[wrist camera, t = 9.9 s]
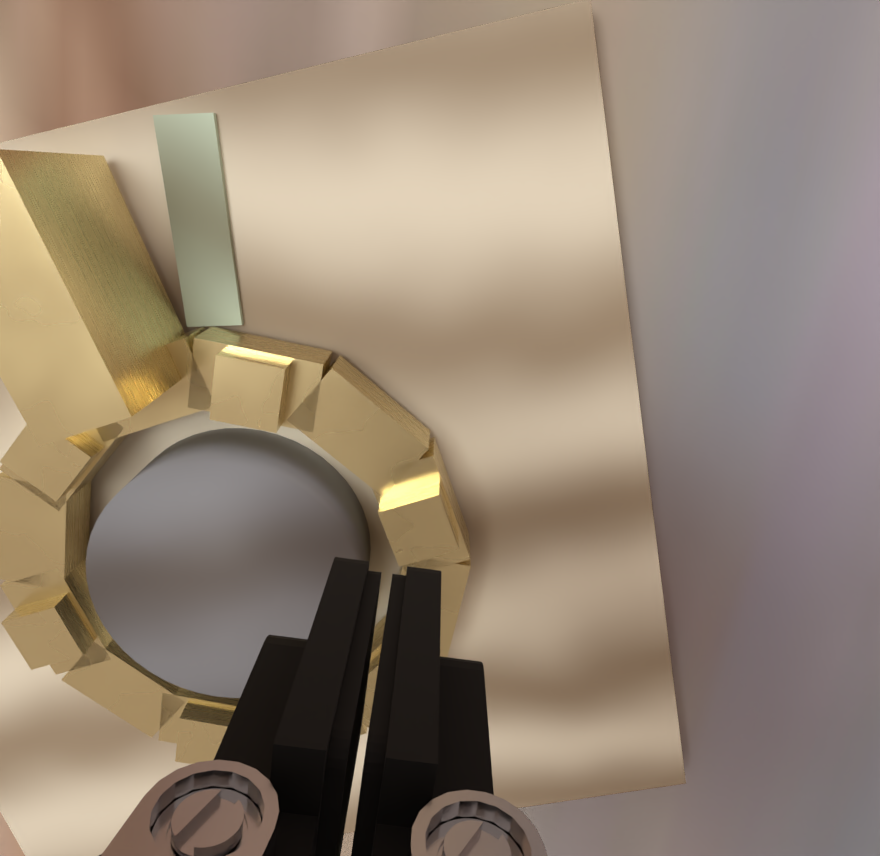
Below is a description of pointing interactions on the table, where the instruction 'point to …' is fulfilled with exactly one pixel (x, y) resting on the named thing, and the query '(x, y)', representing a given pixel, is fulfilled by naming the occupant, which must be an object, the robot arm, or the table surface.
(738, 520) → the table surface
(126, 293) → the ring nut
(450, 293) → the base
